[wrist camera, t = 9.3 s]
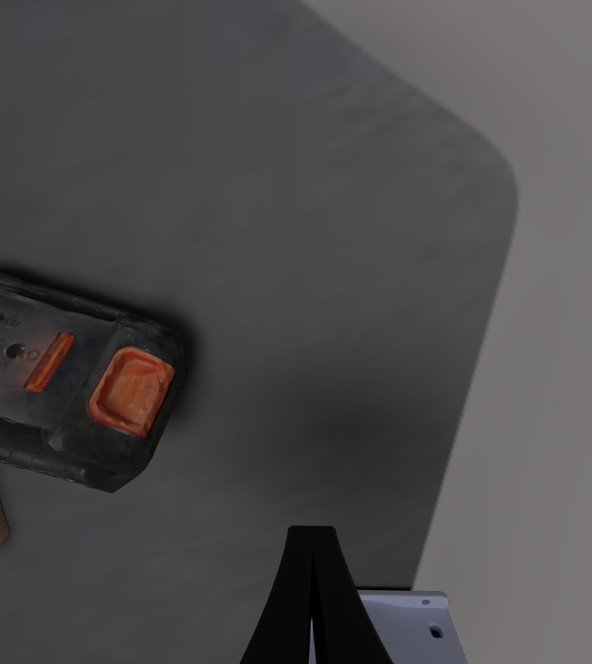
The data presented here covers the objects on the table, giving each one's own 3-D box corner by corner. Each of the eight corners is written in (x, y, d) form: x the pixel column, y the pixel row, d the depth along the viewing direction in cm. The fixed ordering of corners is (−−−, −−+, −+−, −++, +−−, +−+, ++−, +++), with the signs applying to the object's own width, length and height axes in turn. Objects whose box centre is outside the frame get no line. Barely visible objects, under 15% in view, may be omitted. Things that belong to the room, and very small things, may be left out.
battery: (206, 383, 21) (206, 314, 16) (126, 532, 16) (85, 510, 11) (22, 311, 21) (-44, 216, 16) (-112, 438, 16) (-278, 367, 11)
